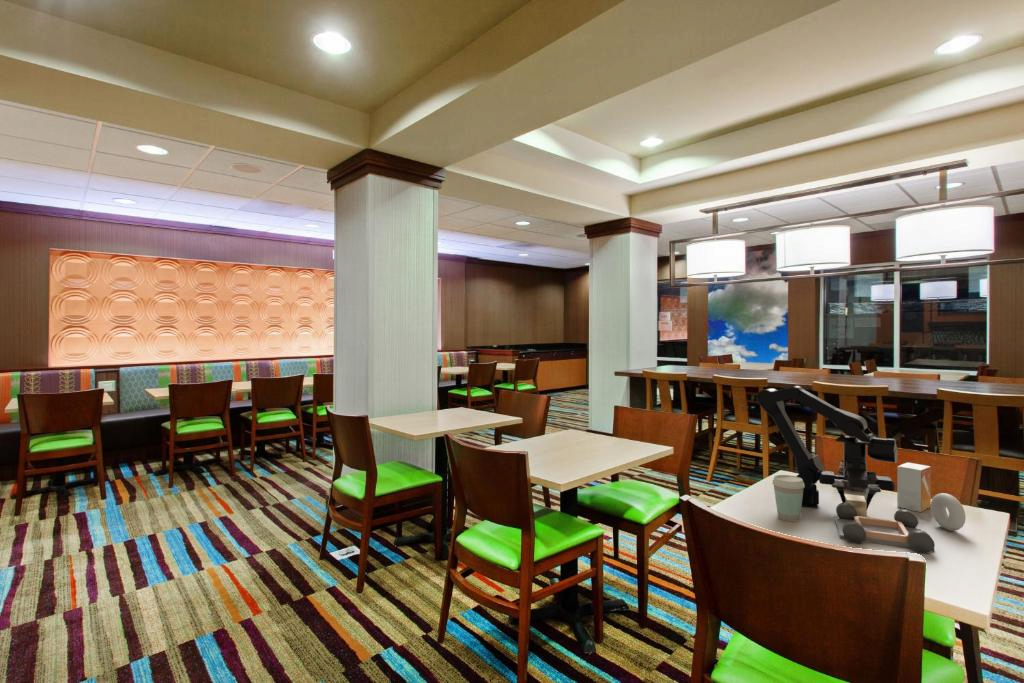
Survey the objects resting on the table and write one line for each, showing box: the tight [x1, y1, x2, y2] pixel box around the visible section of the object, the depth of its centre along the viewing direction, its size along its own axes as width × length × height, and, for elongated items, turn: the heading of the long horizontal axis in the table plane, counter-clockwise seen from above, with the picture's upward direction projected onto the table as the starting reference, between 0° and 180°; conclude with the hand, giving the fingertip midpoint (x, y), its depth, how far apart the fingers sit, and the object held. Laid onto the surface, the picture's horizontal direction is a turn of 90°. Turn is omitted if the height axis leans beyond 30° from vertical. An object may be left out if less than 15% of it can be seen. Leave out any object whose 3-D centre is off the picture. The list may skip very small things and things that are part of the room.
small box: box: [896, 462, 932, 513], centre depth 159 cm, size 8×6×13 cm
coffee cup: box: [772, 474, 805, 522], centre depth 152 cm, size 8×9×12 cm
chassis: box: [834, 502, 936, 554], centre depth 138 cm, size 20×19×5 cm
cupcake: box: [837, 459, 869, 493], centre depth 178 cm, size 10×10×10 cm
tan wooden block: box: [844, 493, 868, 517], centre depth 154 cm, size 5×6×4 cm
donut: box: [930, 492, 967, 532], centre depth 141 cm, size 10×3×10 cm, turn 176°
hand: (855, 508), depth 154 cm, fingers closed on tan wooden block, 5 cm apart
